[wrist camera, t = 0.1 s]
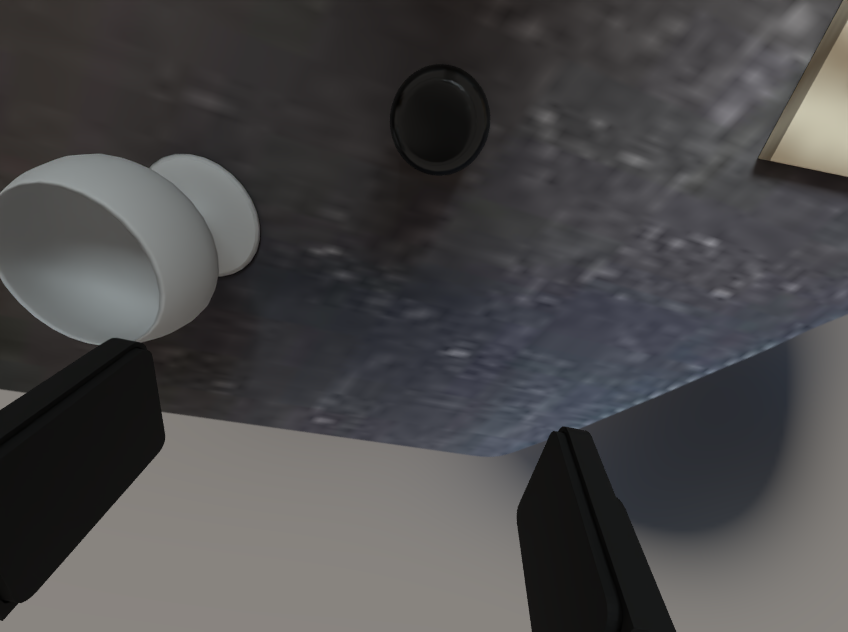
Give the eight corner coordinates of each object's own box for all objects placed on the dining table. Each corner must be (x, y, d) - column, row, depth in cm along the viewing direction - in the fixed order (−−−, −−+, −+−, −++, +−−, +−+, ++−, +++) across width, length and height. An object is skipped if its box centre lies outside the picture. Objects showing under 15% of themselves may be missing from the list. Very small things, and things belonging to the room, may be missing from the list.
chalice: (276, 290, 43) (194, 371, 30) (149, 275, 44) (13, 348, 30) (264, 150, 37) (152, 174, 23) (115, 134, 37) (-77, 149, 24)
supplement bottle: (501, 120, 34) (520, 125, 23) (443, 179, 37) (436, 208, 26) (444, 53, 32) (436, 26, 21) (388, 121, 35) (356, 126, 24)
